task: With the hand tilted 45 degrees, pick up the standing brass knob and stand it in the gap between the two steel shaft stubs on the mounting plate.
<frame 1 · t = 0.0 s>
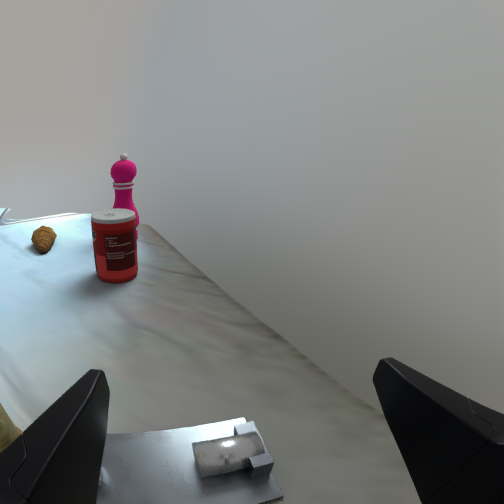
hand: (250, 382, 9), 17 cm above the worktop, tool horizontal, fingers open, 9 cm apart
shaft bed: (149, 475, 18), on the worktop
brass knob: (9, 450, 15), on the worktop
croissant: (45, 246, 59), on the worktop
canned food: (117, 275, 50), on the worktop
pepper mill: (125, 239, 67), on the worktop
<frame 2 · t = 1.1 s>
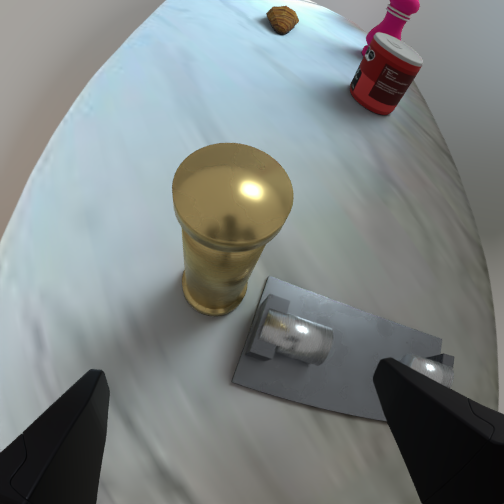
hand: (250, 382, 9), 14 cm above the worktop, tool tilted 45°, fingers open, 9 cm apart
shaft bed: (356, 362, 23), on the worktop
brass knob: (214, 285, 24), on the worktop
croissant: (280, 26, 48), on the worktop
canned food: (370, 100, 40), on the worktop
pepper mill: (374, 59, 49), on the worktop
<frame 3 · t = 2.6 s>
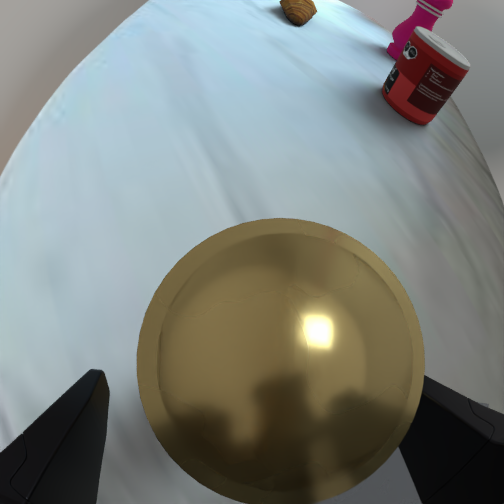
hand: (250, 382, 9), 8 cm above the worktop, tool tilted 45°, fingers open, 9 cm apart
shaft bed: (401, 451, 15), on the worktop
brass knob: (225, 376, 16), on the worktop
croissant: (295, 16, 40), on the worktop
canned food: (404, 106, 32), on the worktop
pepper mill: (400, 59, 41), on the worktop
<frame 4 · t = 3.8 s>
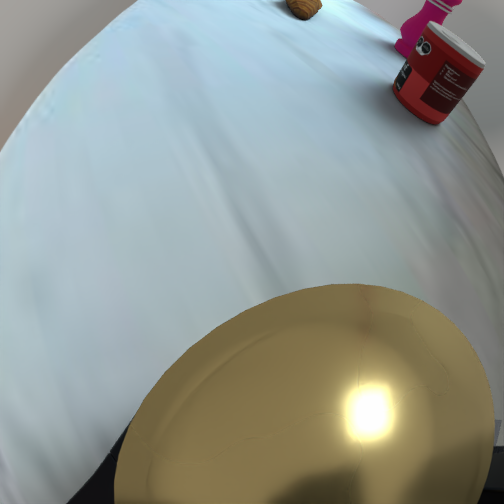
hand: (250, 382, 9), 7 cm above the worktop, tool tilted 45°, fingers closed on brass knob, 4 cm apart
brass knob: (230, 406, 14), on the worktop, touching gripper
croissant: (299, 11, 38), on the worktop
canned food: (416, 104, 30), on the worktop
pepper mill: (409, 55, 38), on the worktop
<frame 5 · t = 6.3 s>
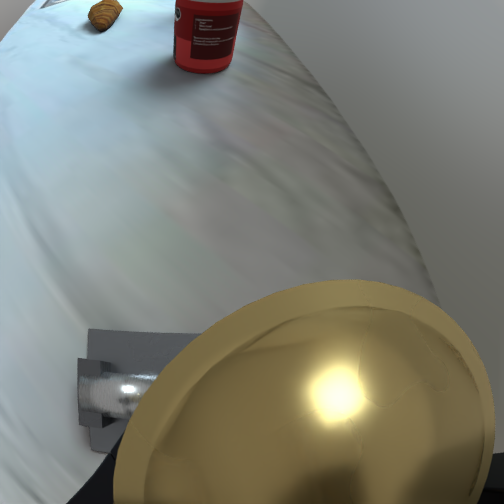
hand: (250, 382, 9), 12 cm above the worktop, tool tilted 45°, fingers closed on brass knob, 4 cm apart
shaft bed: (221, 397, 19), on the worktop
brass knob: (230, 405, 14), point 5 cm above the worktop, touching gripper
croissant: (106, 21, 37), on the worktop
canned food: (202, 61, 34), on the worktop
when the fingers open (8 cm above the worktop, at t = 7.5 s): brass knob stays where it is, resting on shaft bed.
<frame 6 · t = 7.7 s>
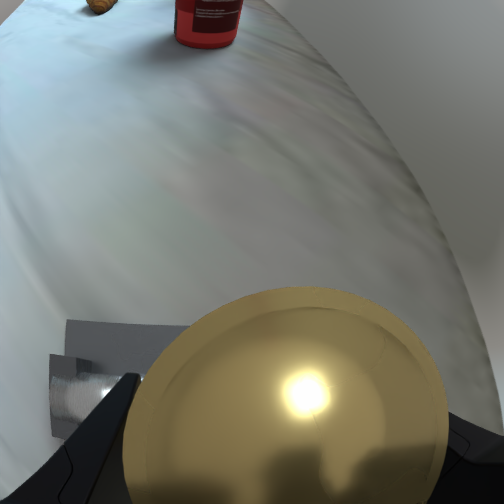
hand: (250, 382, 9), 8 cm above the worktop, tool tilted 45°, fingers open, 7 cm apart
shaft bed: (227, 404, 15), on the worktop
brass knob: (228, 405, 15), resting on shaft bed
croissant: (104, 6, 34), on the worktop
canned food: (204, 38, 30), on the worktop
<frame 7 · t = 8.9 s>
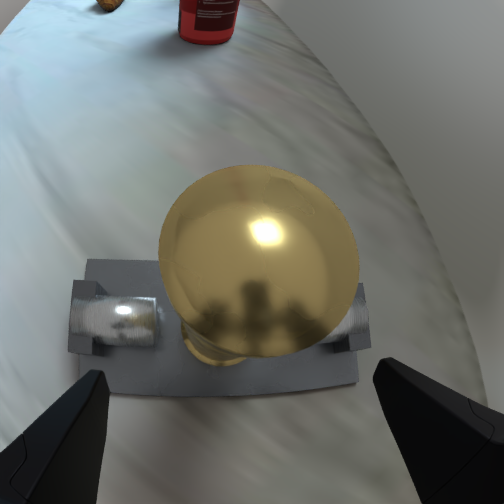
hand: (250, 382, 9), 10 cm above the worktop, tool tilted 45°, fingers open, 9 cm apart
shaft bed: (220, 328, 19), on the worktop
brass knob: (220, 328, 19), resting on shaft bed
croissant: (112, 3, 37), on the worktop
canned food: (205, 35, 34), on the worktop
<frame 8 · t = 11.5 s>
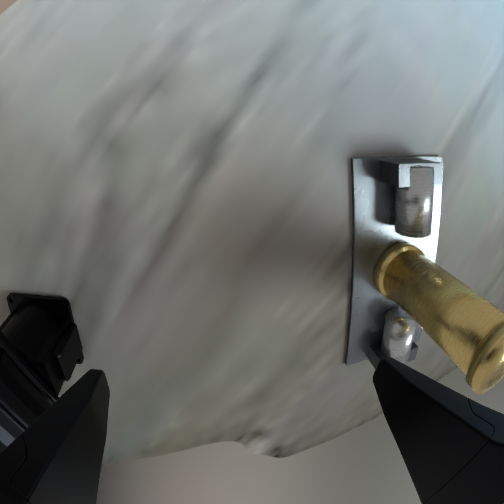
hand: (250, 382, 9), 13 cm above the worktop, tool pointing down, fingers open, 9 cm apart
shaft bed: (396, 268, 24), on the worktop
brass knob: (398, 269, 24), resting on shaft bed
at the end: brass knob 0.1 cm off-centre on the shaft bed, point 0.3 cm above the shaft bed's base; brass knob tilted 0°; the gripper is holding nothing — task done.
